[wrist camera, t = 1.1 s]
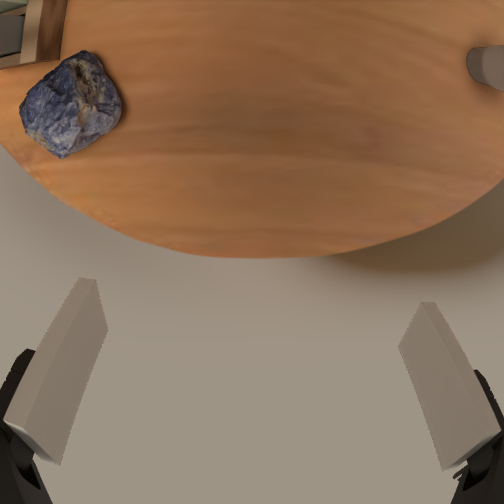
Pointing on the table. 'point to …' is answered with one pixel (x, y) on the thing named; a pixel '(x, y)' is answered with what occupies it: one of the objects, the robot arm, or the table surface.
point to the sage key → (12, 4)
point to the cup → (487, 66)
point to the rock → (71, 106)
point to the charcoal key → (11, 34)
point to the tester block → (38, 33)
